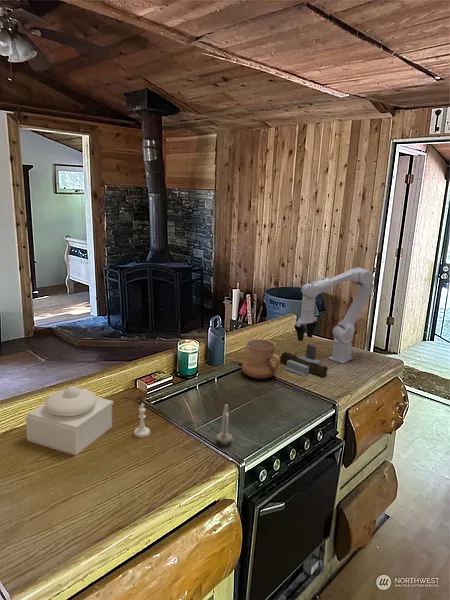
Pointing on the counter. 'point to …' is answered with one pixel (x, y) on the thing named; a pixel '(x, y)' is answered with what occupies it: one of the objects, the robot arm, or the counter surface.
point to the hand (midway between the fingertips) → (304, 338)
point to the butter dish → (69, 420)
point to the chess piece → (142, 424)
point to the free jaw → (310, 355)
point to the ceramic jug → (260, 359)
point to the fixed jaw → (297, 368)
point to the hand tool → (312, 366)
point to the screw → (224, 428)
